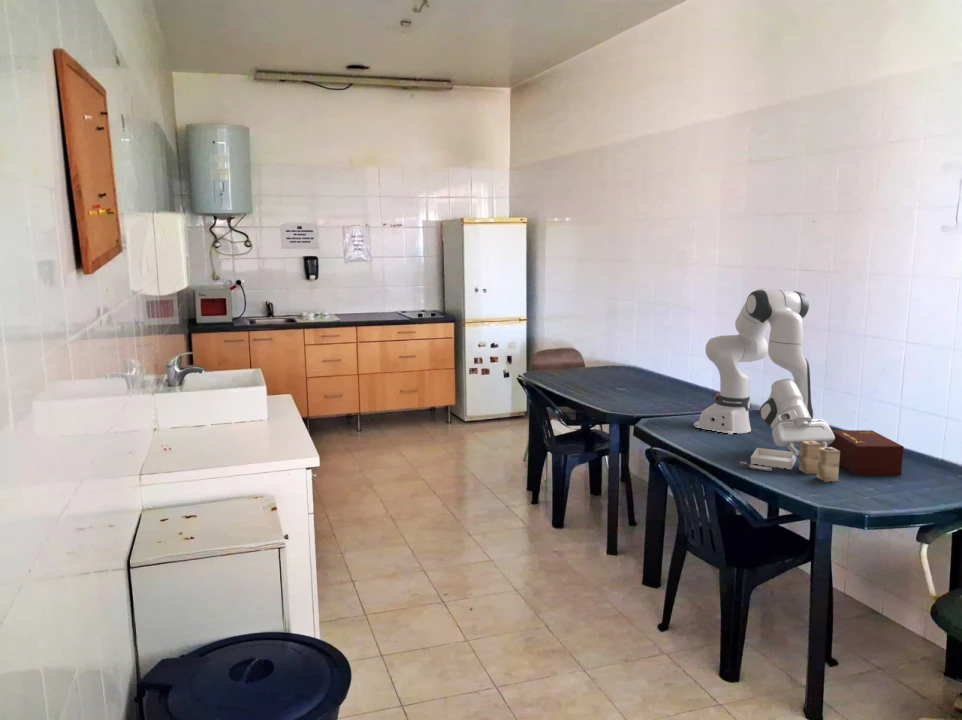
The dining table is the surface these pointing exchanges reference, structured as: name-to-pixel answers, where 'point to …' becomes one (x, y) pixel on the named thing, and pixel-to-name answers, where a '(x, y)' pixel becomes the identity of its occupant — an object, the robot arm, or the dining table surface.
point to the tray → (773, 458)
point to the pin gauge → (754, 466)
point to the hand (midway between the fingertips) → (811, 455)
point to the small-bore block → (809, 456)
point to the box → (868, 452)
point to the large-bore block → (828, 464)
